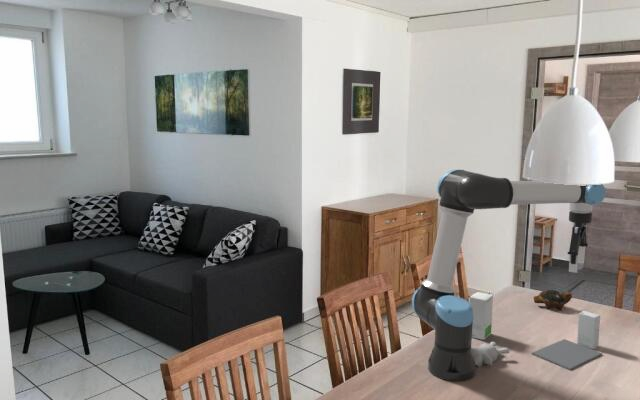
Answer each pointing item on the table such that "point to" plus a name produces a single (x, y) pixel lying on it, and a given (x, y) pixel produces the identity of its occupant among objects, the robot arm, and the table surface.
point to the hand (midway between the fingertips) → (576, 267)
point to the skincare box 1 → (481, 315)
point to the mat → (567, 354)
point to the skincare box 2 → (588, 329)
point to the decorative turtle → (553, 299)
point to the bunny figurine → (487, 353)
